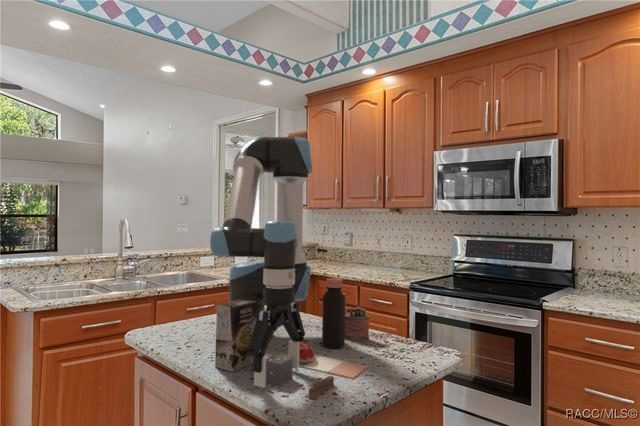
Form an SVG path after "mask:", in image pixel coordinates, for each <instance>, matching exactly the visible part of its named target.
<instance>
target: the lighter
mask: <svg viewBox="0 0 640 426" xmlns="http://www.w3.org/2000/svg"><path fill="white" fill-rule="evenodd" d="M346 313H347V314H346ZM348 313H349V314H348ZM353 313H354V314H353ZM366 313H367V312H366V309H365V308H361V307H359V306H357V307H355V308H354V307H345V341H354V342H355V341H356V342H358V341H359V342H368V341H369V340H370V336H369V335H370V334H369V333H370V332H369V330H370V329H369V327H370V325H369V324H370V315H368V314H366Z"/></svg>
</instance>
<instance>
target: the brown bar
mask: <svg viewBox="0 0 640 426" xmlns="http://www.w3.org/2000/svg"><path fill="white" fill-rule="evenodd" d="M334 378H335V377H334V376H332V375H328V376H327V377H325V378H324V379H323V380H321V381H319V382H318V383H316V384H315V385H313V386H311V388H309V389H308V399H311V400H315V399H316V398H318V397H319V396H320V395H322V394H323V393H324V392H326V391H327V390H329V389H330V388H331V387H333V386H334V385H335V383H334V381H335V379H334Z"/></svg>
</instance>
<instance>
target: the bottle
mask: <svg viewBox="0 0 640 426" xmlns="http://www.w3.org/2000/svg"><path fill="white" fill-rule="evenodd" d="M325 287H326V292H325V293H324V294H323V295H322V323H321V324H322V326H321V329H322V330H321V336H322V337H321V346H322V347H324V348H327V349H331V350H338V349H342V348H344V347H345V346H346V345H345V343H346V340H345V315H346V295H345V294H344V293H343V292H342V289H343V279H342V278H337V277H336V278H335V277H329V278H326V281H325Z"/></svg>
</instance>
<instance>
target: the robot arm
mask: <svg viewBox="0 0 640 426" xmlns="http://www.w3.org/2000/svg"><path fill="white" fill-rule="evenodd" d="M232 170H233V173H234V175H233V179H232V184H231V187H230V192H229V196H228V201H227V206H226V211H225V214H224V218H223V219H224V220H223V222H222V226H219V227H214V228H213V229H212V231H211V232H210V237H209V238H210V239H209V240H210V241H209V243H210V244H209V245H210V247H209V248H210V251H211V254H212V255H214V256H215V257H224V258H225V257H227V258H235V257H236V258H243V257H244V258H248V257H249V258H263V260H254V261H253V260H252V261H245V262H239V263H236V264H233V265H232V266H231V267H230V269H229V278H228V282H229V283H228V288H229V290H228V291H229V293H228V295H229V296H228V302H231V301H235V300H240V299H241V300H250V301H256V302H257V318H256V323H255V327H254V330H253V333H252V337H251V340H250V343H249V347H248V350H247V355H248V356H252V357H253V359H254V360H253V363H252V364H253V367H252V368H253V369H252V370H253V386H255V387H260V388H265V387H267V384H266V383H267V382H266V359H267V356H265V354H266V351H267V349H268V348H269V345H270V342H271V341H272V338H273V336H274V333H275V332H276V331H278V328H280V327H284V329H285V331H286V332H287V334H288V336H289V338H290V340H288V354H287V355H288V356H287V357H290V358H293V369H295V370H298V369H299V368H300V367H299V346H300V343H303V342H304V339H305V338H304V337H305V336H306V331H305V328H304V325H303V320H302V316H301V314H300V308H299V306H300V305H299V302H302V301H304V300H306V298H307V296H308V292H309V291H308V290H309V285H310V280H311V279H310V278H311V270H312V267H311V266H310V265H307V262H308V260H307V259H306V258H305V257H304V255H303V235H304V234H303V233H304V232H303V227H304V225H303V224H304V218H303V217H304V184H305V182H307V180H308V179H309V175H310V174H312V173H313V165H312V155H311V147H310V142H309V140H308V139H307V138H305V137H296V136H292V137H289V136H287V137H286V136H282V137H281V136H261V137H256V138H254V139H252V140H250V141H248V142H247V143H246V144H245V145H243V147H241V148H240V150H239V151H238V153H237V154H236V156H235V157H234V160H233V164H232ZM264 173H268V174H269V173H272V179H273V180H274V181H275V182H276V183H277V184H276V186H277V187H276V189H277V190H276V192H277V193H276V195H277V196H276V221H275V220H272V221H271V220H270V221H269V220H268V221H266V222H265V224H264V228H262V227H260V228H257V227H255V228H253V227H252V224H253V218H254V213H255V205H256V201H257V200H256V199H257V192H258V186H259V180H260V179H261V177H262V175H263V174H264ZM265 305H266V306H265ZM265 307H266V308H265ZM252 350H253V351H252Z"/></svg>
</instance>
